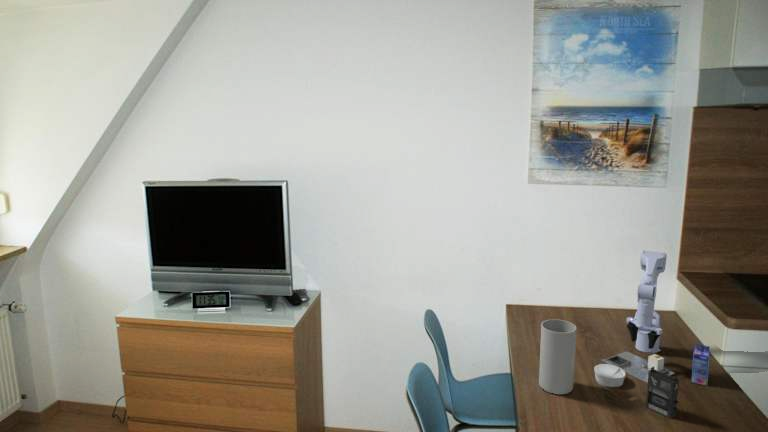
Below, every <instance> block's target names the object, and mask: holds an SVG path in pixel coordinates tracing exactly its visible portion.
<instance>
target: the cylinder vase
mask: <svg viewBox="0 0 768 432" xmlns="http://www.w3.org/2000/svg"><path fill="white" fill-rule="evenodd" d="M540 325H541V327H540V346H539V349H540V350H539V372H538V374H539V375H538V385H539V387H540V388H541V389H542V390H543V389H544V390H543V391H545V392H546V393H550V394H552V393H553V395H566V394H567V395H568V394H569V393H572V391H573V389H574V379H575V378H574V377H575V376H574V375H575V362H576V361H575V358H576V345H577V344H576V342H577V341H576V340H577V326H576V325H575V323H572V322H570V321H567V320H563V319H558V318H557V319H553V318H552V319H546V320H543V321H542V322H541V324H540Z"/></svg>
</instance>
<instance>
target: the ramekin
mask: <svg viewBox="0 0 768 432" xmlns="http://www.w3.org/2000/svg"><path fill="white" fill-rule="evenodd" d="M593 368H594V369H593V371H594V376H595V377H594V378H595V381H596V382H597V384H598V385H600V386H601V387H602V388H603V387H604V388H606V389H608V388H609V387H610V388H618V387H621V386H623V384H624V381H625V378H626V375H627V374H626V372H625V371H624V370H623V369H621V368H620V367H617V366H615V365H610V364H608V363H600V364H597V365H595V366H594V367H593Z"/></svg>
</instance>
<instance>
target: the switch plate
mask: <svg viewBox="0 0 768 432" xmlns="http://www.w3.org/2000/svg"><path fill="white" fill-rule="evenodd" d="M601 361H602V362H603V363H605V364H610V365H615V366H617V367H620V368H621V369H623V370H624V371H625V373H627V374H628V375H630V376H632V377H634V378H636V379H639V380H641V381H642V382H644V383H646V384H648V373H649V371H650V370H649V369H648V359H645V358H643V357H640V356H639V355H636V354H633V353H632V352H630V351H623V352H621V353H618V354H615V355H612V356H608V357H606V358H603V359H601ZM661 373H663V374H666V375H669V376H671V375H674V374H676V373H675V372H674V371H672V370H670V369H668V368H665V366H664V367H663V371H662V372H661Z"/></svg>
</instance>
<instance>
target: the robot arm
mask: <svg viewBox="0 0 768 432" xmlns="http://www.w3.org/2000/svg"><path fill="white" fill-rule="evenodd" d="M667 257H668V256H667V253H666V252H660V251H650V250H642V251H641V253H640V259H639V260H640V268H641V270H642V271H644V273H642V275H641V279H640V283H639V284H638V286H637V289H636V290H637V292H636V294H637V295H636V296H637V311H636V312H635V313H634V314H635V315H634V317H631V316H628V317H626V323H627V324H626V328H627V329H628V332H629V335H630V338H631V339H630V340H631V342H635V349H636V350H638V351H640V352H644V353H651V354H657V353H659V352H661V350H662V349H660V339H661V335H663V329H662V328H661V327H660V326H661V325H660V324H661V316H660V314H659V313H658V312H657V311H655V302H656V297H657V285H658V277H659V276H660V274H661V273H664V272H665V270H666V265H667Z"/></svg>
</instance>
